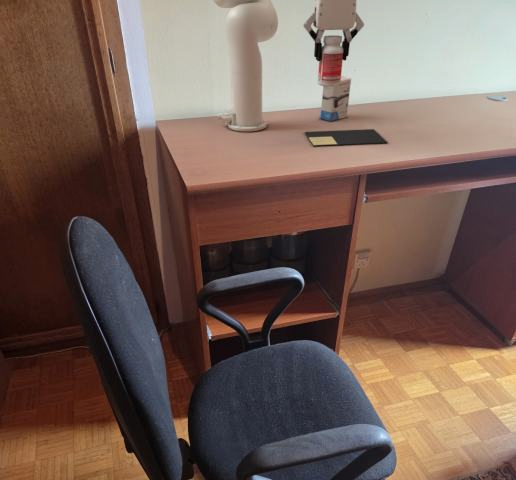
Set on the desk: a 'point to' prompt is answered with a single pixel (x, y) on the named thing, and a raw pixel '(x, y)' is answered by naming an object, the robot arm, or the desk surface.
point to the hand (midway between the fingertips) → (330, 59)
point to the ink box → (336, 100)
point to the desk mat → (345, 137)
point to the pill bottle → (330, 61)
